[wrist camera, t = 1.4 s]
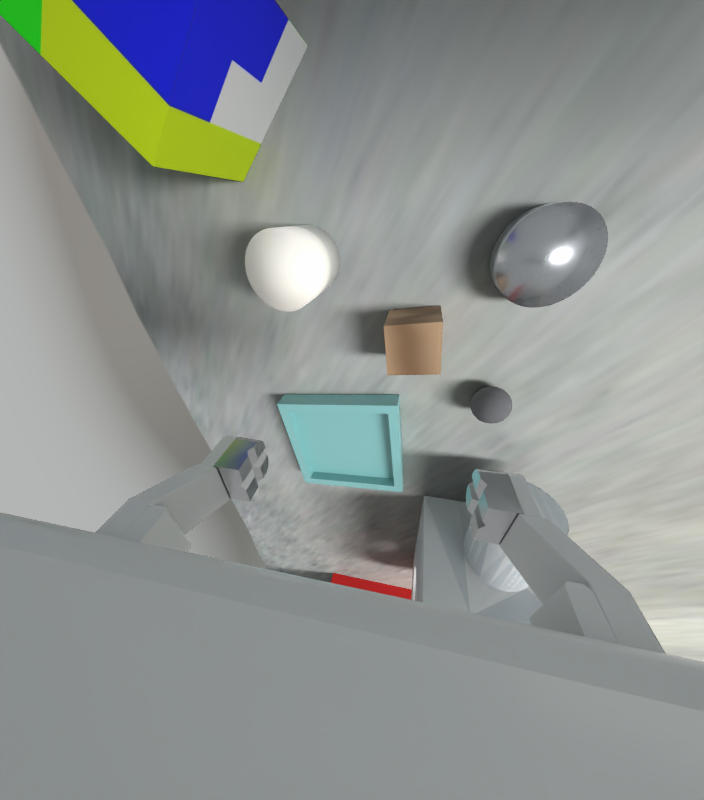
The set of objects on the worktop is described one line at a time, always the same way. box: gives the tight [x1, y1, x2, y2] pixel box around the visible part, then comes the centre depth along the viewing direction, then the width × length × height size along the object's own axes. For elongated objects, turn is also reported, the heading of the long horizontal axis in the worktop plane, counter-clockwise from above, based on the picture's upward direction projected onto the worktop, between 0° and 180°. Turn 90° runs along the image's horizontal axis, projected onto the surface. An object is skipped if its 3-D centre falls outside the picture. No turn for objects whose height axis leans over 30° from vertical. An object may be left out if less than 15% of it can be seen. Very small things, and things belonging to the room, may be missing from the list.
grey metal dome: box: [490, 202, 608, 307], centre depth 21 cm, size 7×7×3 cm
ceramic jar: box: [245, 224, 340, 311], centre depth 24 cm, size 6×6×7 cm
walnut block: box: [384, 306, 443, 375], centre depth 26 cm, size 5×5×5 cm
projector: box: [411, 482, 569, 625], centre depth 39 cm, size 35×19×15 cm, turn 3°
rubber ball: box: [471, 387, 512, 423], centre depth 29 cm, size 4×4×4 cm
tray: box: [277, 394, 404, 492], centre depth 38 cm, size 16×16×2 cm
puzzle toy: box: [0, 0, 308, 182], centre depth 16 cm, size 10×10×10 cm
